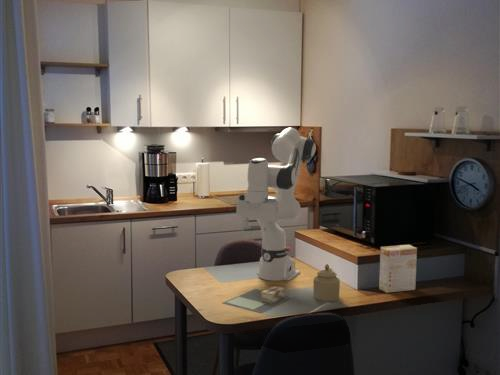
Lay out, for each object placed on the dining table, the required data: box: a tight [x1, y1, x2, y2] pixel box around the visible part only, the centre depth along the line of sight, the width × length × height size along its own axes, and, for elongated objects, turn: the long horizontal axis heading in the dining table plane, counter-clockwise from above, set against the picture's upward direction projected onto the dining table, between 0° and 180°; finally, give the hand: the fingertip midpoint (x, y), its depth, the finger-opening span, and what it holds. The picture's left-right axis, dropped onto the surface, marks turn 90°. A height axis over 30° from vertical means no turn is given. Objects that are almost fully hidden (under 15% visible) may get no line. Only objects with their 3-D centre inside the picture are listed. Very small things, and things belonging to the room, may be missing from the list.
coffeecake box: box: [378, 244, 418, 294], centre depth 257 cm, size 15×7×20 cm, turn 108°
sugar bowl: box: [312, 264, 341, 303], centre depth 246 cm, size 15×11×15 cm
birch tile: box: [261, 285, 285, 303], centre depth 241 cm, size 10×5×4 cm, turn 144°
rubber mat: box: [222, 288, 294, 314], centre depth 240 cm, size 24×20×1 cm
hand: (257, 229), depth 241 cm, fingers open, 8 cm apart
